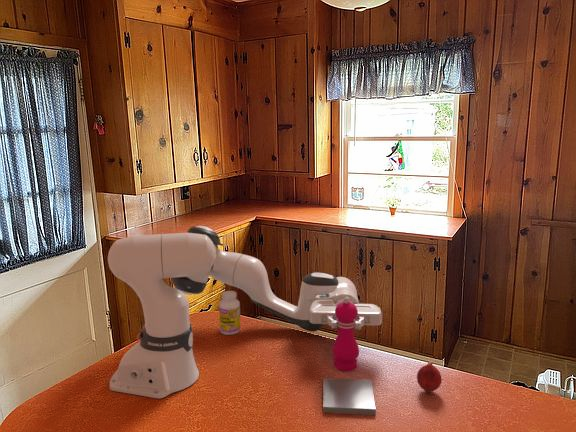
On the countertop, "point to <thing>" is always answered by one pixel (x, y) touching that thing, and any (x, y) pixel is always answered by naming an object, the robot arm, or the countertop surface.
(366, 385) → the silver flat square block
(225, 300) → the supplement bottle
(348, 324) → the pepper mill
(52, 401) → the countertop surface
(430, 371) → the onion
